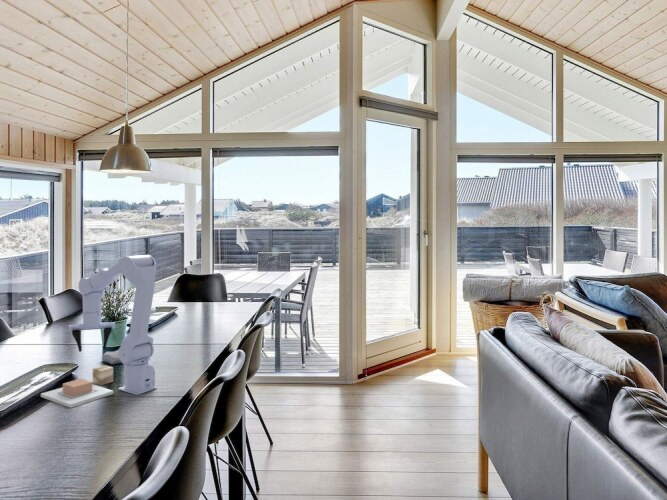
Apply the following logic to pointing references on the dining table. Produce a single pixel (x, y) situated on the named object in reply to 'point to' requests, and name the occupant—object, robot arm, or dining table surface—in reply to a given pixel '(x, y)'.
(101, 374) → the maple block
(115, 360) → the stone block
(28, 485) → the dining table surface
